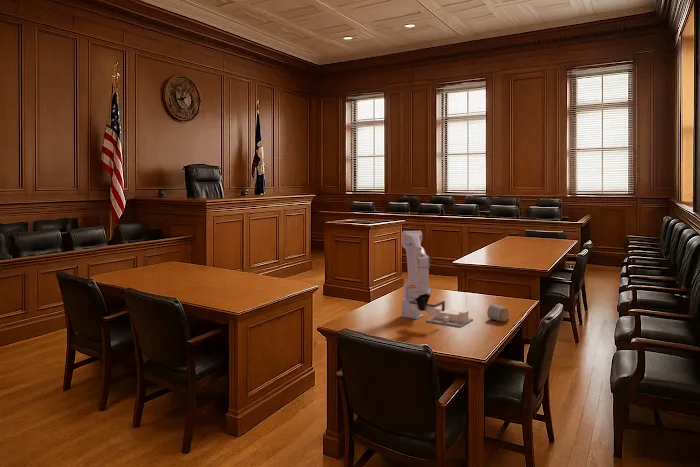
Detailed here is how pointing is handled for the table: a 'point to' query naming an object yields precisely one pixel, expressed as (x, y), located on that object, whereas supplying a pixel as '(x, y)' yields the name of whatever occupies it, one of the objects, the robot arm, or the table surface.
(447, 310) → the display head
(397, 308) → the table surface
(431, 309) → the glasses
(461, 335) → the table surface
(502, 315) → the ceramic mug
